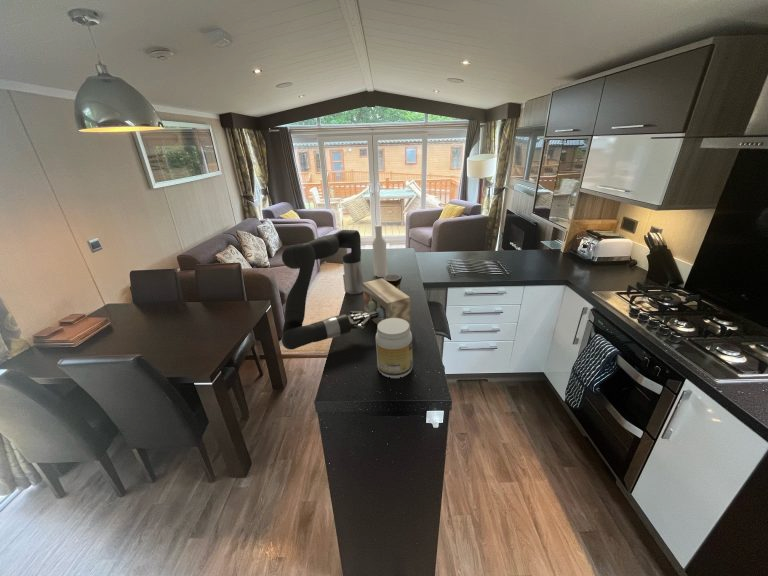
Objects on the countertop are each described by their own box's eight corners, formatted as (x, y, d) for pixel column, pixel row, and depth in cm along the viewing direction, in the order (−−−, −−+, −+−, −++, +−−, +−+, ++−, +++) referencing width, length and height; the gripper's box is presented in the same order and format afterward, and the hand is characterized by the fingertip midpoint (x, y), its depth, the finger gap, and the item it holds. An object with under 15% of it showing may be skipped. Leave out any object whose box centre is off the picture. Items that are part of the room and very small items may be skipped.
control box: (389, 336, 125) (387, 303, 119) (364, 312, 145) (362, 282, 138) (410, 329, 129) (409, 297, 123) (383, 307, 149) (382, 278, 142)
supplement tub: (417, 376, 102) (417, 332, 95) (381, 382, 100) (378, 338, 93) (407, 354, 113) (406, 313, 106) (374, 360, 111) (371, 319, 104)
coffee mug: (389, 300, 155) (388, 282, 151) (381, 294, 162) (380, 276, 158) (409, 294, 160) (409, 276, 156) (401, 289, 167) (400, 271, 163)
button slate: (381, 320, 123) (380, 311, 121) (376, 316, 127) (375, 307, 125) (385, 319, 124) (385, 309, 122) (380, 314, 127) (380, 305, 126)
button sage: (372, 312, 129) (372, 303, 128) (368, 308, 133) (368, 300, 131) (377, 311, 130) (376, 302, 128) (372, 307, 134) (372, 298, 132)
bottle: (387, 277, 183) (384, 226, 171) (373, 277, 184) (370, 227, 172) (387, 272, 190) (385, 223, 178) (375, 272, 191) (372, 224, 179)
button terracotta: (367, 305, 136) (367, 296, 134) (364, 301, 139) (363, 293, 138) (372, 304, 137) (371, 295, 135) (368, 300, 140) (367, 292, 138)
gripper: (341, 325, 110) (384, 312, 117) (329, 310, 121) (369, 299, 128) (343, 343, 113) (385, 329, 120) (331, 327, 124) (370, 315, 131)
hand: (377, 314), depth 124 cm, fingers closed
